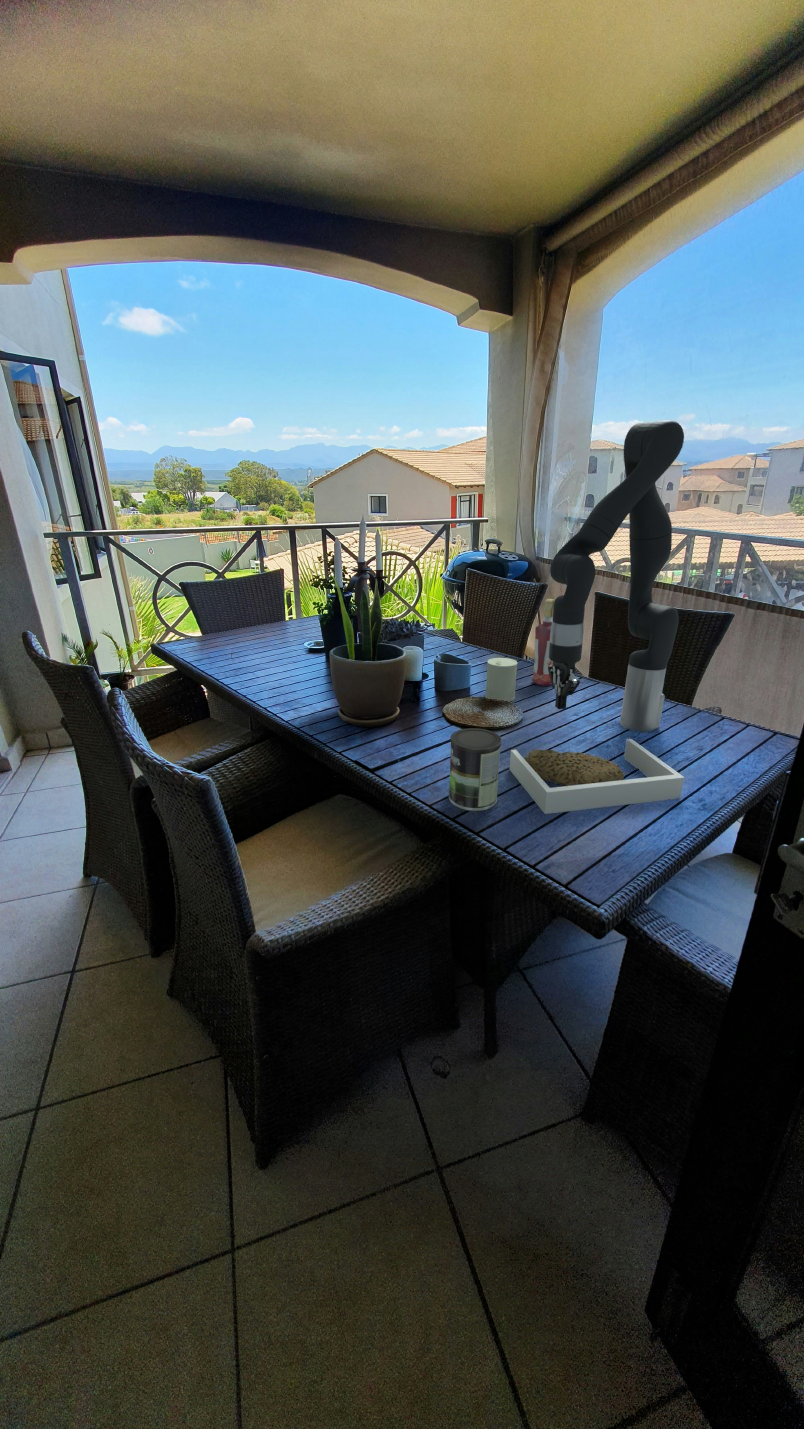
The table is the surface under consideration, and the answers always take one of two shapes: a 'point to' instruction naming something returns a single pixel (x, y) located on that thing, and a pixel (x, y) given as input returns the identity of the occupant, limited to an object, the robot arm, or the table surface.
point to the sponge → (572, 767)
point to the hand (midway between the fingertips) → (560, 707)
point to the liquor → (543, 647)
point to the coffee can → (474, 768)
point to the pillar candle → (501, 679)
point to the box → (603, 784)
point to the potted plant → (367, 669)
